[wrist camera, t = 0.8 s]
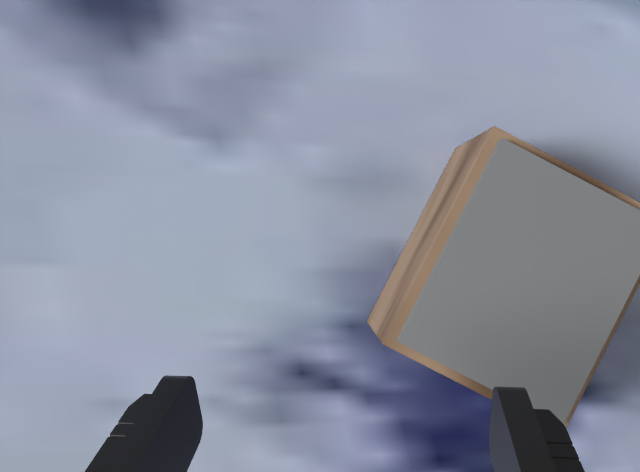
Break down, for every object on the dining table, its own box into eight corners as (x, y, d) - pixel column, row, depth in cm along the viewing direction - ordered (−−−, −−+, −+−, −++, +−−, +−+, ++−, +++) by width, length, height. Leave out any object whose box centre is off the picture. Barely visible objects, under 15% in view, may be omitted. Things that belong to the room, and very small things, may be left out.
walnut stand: (366, 321, 31) (384, 346, 24) (455, 148, 31) (498, 124, 24) (509, 394, 32) (567, 439, 24) (596, 222, 32) (679, 219, 25)
